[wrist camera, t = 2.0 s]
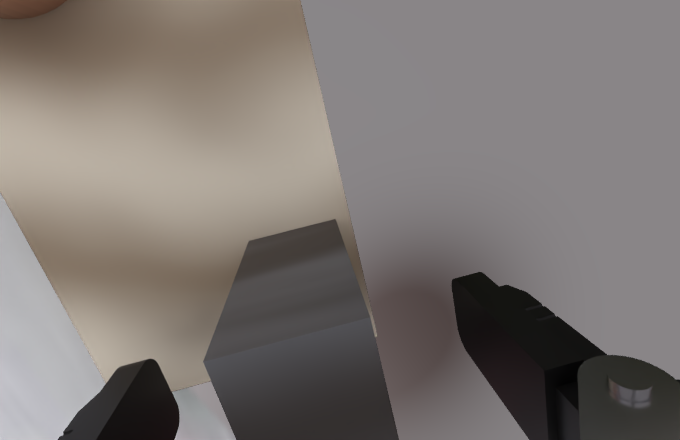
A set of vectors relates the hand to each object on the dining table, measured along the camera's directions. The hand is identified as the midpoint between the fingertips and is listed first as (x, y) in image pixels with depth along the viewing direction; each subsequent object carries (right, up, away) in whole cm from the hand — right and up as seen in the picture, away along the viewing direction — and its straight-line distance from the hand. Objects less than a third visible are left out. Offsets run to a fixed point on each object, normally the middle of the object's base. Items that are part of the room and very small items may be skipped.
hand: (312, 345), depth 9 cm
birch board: (-5, +9, +1) cm, 11 cm away
